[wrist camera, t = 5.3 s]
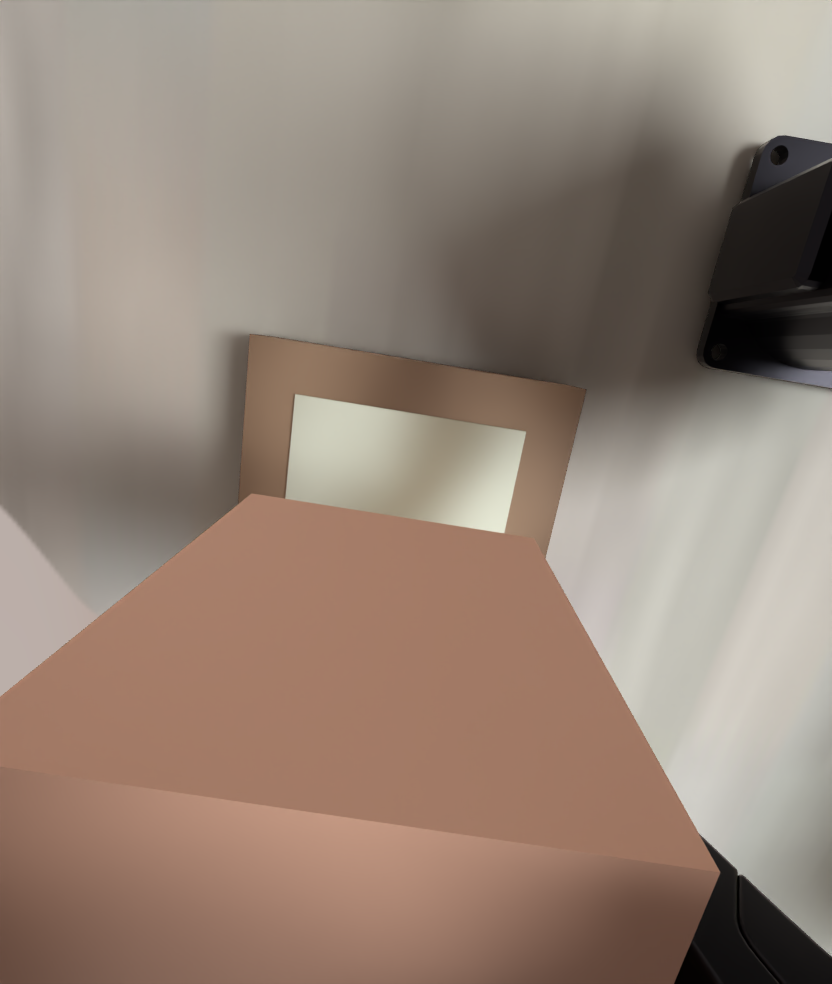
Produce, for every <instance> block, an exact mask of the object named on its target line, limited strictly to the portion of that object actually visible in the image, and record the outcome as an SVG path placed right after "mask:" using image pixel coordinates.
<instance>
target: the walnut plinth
mask: <svg viewBox="0 0 832 984" xmlns="http://www.w3.org/2000/svg"><path fill="white" fill-rule="evenodd" d="M585 393H586V389H582V388H578V387H574V386H570V385H565V384H558V383H552V382H546V381H540V380H534V379H528V378H522V377H516V376H510V375H504V374H498V373H492V372H486V371H479V370H473V369H467V368H461V367H455V366H449V365H443V364H437V363H431V362H425V361H419V360H413V359H407V358H400V357H394V356H388V355H382V354H376V353H370V352H364V351H358V350H352V349H346V348H340V347H334V346H327V345H321V344H315V343H309V342H303V341H297V340H291V339H285V338H279V337H273V336H264V335H254V334H250V338H249V352H248V367H247V381H246V396H245V410H244V425H243V439H242V453H241V468H240V482H239V497H238V504H239V503H240V502H242V501H243V500H244V499H245V498H247V497H248V496H249V495H250V494H251V493H252V494H259V495H265V496H271V497H278V498H284V499H290V500H297V501H303V502H309V503H316V504H322V505H328V506H334V507H341V508H347V509H353V510H360V511H366V512H372V513H379V514H385V515H391V516H398V517H404V518H410V519H417V520H423V521H429V522H435V523H442V524H448V525H454V526H461V527H467V528H473V529H480V530H486V531H492V532H499V533H505V534H511V535H517V536H524V537H530V538H534V539H535V541H536V543H537V545H538V546H539V548H540V550H541V552H542V554H543V555H544V557H546V553H547V549H548V545H549V541H550V537H551V533H552V529H553V525H554V521H555V516H556V512H557V508H558V504H559V500H560V496H561V492H562V488H563V484H564V479H565V475H566V471H567V467H568V463H569V459H570V455H571V451H572V447H573V443H574V438H575V434H576V430H577V426H578V422H579V418H580V414H581V410H582V406H583V402H584V397H585Z"/></svg>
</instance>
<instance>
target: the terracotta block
mask: <svg viewBox="0 0 832 984" xmlns="http://www.w3.org/2000/svg"><path fill="white" fill-rule="evenodd" d="M719 875H720V871H719V869H718V867H717V865H716V864H715V862H714V860H713V858H712V857H711V855H710V853H709V851H708V849H707V848H706V846H705V844H704V842H703V840H702V839H701V837H700V835H699V833H698V831H697V830H696V828H695V826H694V824H693V822H692V821H691V819H690V817H689V815H688V813H687V812H686V810H685V808H684V806H683V805H682V803H681V801H680V799H679V797H678V796H677V794H676V792H675V790H674V788H673V787H672V785H671V783H670V781H669V779H668V778H667V776H666V774H665V772H664V770H663V769H662V767H661V765H660V763H659V762H658V760H657V758H656V756H655V754H654V753H653V751H652V749H651V747H650V745H649V744H648V742H647V740H646V738H645V736H644V735H643V733H642V731H641V729H640V727H639V726H638V724H637V722H636V720H635V719H634V717H633V715H632V713H631V711H630V710H629V708H628V706H627V704H626V702H625V701H624V699H623V697H622V695H621V693H620V692H619V690H618V688H617V686H616V684H615V683H614V681H613V679H612V677H611V675H610V674H609V672H608V670H607V668H606V667H605V665H604V663H603V661H602V659H601V658H600V656H599V654H598V652H597V650H596V649H595V647H594V645H593V643H592V641H591V640H590V638H589V636H588V634H587V632H586V631H585V629H584V627H583V625H582V624H581V622H580V620H579V618H578V616H577V615H576V613H575V611H574V609H573V607H572V606H571V604H570V602H569V600H568V598H567V597H566V595H565V593H564V591H563V589H562V588H561V586H560V584H559V582H558V580H557V579H556V577H555V575H554V573H553V572H552V570H551V568H550V566H549V564H548V563H547V561H546V559H545V557H544V555H543V554H542V552H541V550H540V548H539V546H538V545H537V543H536V541H535V539H534V538H530V537H524V536H517V535H511V534H505V533H499V532H492V531H486V530H480V529H473V528H467V527H461V526H454V525H448V524H442V523H435V522H429V521H423V520H417V519H410V518H404V517H398V516H391V515H385V514H379V513H372V512H366V511H360V510H353V509H347V508H341V507H334V506H328V505H322V504H316V503H309V502H303V501H297V500H290V499H284V498H278V497H271V496H265V495H259V494H252V493H251V494H250V495H249V496H248V497H247V498H245V499H244V500H243V501H242V502H240V503H239V504H238V505H237V506H235V507H234V508H233V509H232V510H230V511H229V512H228V513H227V514H226V515H224V516H223V517H222V518H221V519H219V520H218V521H217V522H216V523H214V524H213V525H212V526H211V527H209V528H208V529H207V530H206V531H205V532H203V533H202V534H201V535H200V536H198V537H197V538H196V539H195V540H193V541H192V542H191V543H190V544H188V545H187V546H186V547H185V548H183V549H182V550H181V551H180V552H179V553H177V554H176V555H175V556H174V557H172V558H171V559H170V560H169V561H167V562H166V563H165V564H164V565H162V566H161V567H160V568H159V569H158V570H156V571H155V572H154V573H153V574H151V575H150V576H149V577H148V578H146V579H145V580H144V581H143V582H141V583H140V584H139V585H138V586H137V587H135V588H134V589H133V590H132V591H130V592H129V593H128V594H127V595H125V596H124V597H123V598H122V599H120V600H119V601H118V602H117V603H116V604H114V605H113V606H112V607H111V608H109V609H108V610H107V611H106V612H104V613H103V614H102V615H101V616H99V617H98V618H97V619H96V620H94V621H93V622H92V623H91V624H90V625H88V626H87V627H86V628H85V629H83V630H82V631H81V632H80V633H78V634H77V635H76V636H75V637H73V638H72V639H71V640H70V641H69V642H68V643H66V644H65V645H64V646H62V647H61V648H60V649H59V650H57V651H56V652H55V653H54V654H53V655H51V656H50V657H49V658H48V659H46V660H45V661H44V662H43V663H41V664H40V665H39V666H38V667H36V668H35V669H34V670H33V671H32V672H30V673H29V674H28V675H26V676H25V677H24V678H23V679H22V680H20V681H19V682H18V683H17V684H15V685H14V686H13V687H12V688H10V689H9V690H8V691H7V692H5V693H4V694H3V695H2V696H1V697H0V984H674V982H675V980H676V977H677V975H678V973H679V970H680V968H681V965H682V963H683V961H684V958H685V956H686V953H687V951H688V949H689V946H690V944H691V942H692V939H693V937H694V934H695V932H696V930H697V927H698V925H699V922H700V920H701V918H702V915H703V913H704V910H705V908H706V906H707V903H708V901H709V899H710V896H711V894H712V891H713V889H714V887H715V884H716V882H717V879H718V877H719Z"/></svg>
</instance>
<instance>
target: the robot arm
mask: <svg viewBox="0 0 832 984" xmlns="http://www.w3.org/2000/svg"><path fill="white" fill-rule="evenodd" d="M772 150H774V151H776V152H777V153H778V155H779V163H778V165H777V166H776V165H774V164H773V163H772V162H771V160H770V156H771V152H772ZM708 293H709V296H710V299H711V305H710V308H709V311H708V315H707V318H706V322H705V325H704V328H703V332H702V335H701V339H700V342H699V345H698V349H697V359H698V362H699V363H700V364H701V365H702V366H704V367H707V368H711V369H717V370H723V371H729V372H735V373H741V374H747V375H753V376H759V377H765V378H771V379H777V380H783V381H789V382H795V383H801V384H807V385H813V386H819V387H826V388H832V144H831V143H825V142H819V141H814V140H808V139H803V138H797V137H791V136H777V137H775V138H773V139H771V140H770V141H768V142H766V143H765V144H763V145H762V146H761V147H760V148H759V149H758V150H757V152H756V154H755V156H754V159H753V162H752V166H751V169H750V172H749V176H748V179H747V183H746V186H745V189H744V193H743V196H742V200H741V202H740V203H739V204H738V205H736V206H735V207H734V208H733V210H732V213H731V216H730V219H729V223H728V226H727V230H726V233H725V237H724V240H723V243H722V247H721V250H720V254H719V257H718V261H717V264H716V267H715V271H714V274H713V278H712V281H711V285H710V288H709V292H708ZM715 345H718V346H719V347H720V355H719V356H718V358H716V359H715V360H714V359H713V358H712V356H711V350H712V349H713V347H714V346H715ZM699 835H700V834H699ZM700 837H701V839H702V840H703V842H704V844H705V846H706V848H707V849H708V851H709V853H710V855H711V857H712V858H713V860H714V862H715V864H716V865H717V867H718V869H719V871H720V875H719V877H718V879H717V882H716V884H715V887H714V889H713V891H712V894H711V896H710V899H709V901H708V903H707V906H706V908H705V910H704V913H703V915H702V918H701V920H700V922H699V925H698V927H697V930H696V932H695V934H694V937H693V939H692V942H691V944H690V946H689V949H688V951H687V953H686V956H685V958H684V961H683V963H682V965H681V968H680V970H679V973H678V975H677V977H676V980H675V982H674V984H832V957H831V956H830V955H829V954H828V953H827V952H826V951H824V950H823V949H822V948H821V947H820V946H819V945H818V944H817V943H816V942H814V941H813V940H812V939H811V938H810V937H809V936H808V935H807V934H806V933H805V932H804V931H802V930H801V929H800V928H799V927H798V926H797V925H796V924H795V923H794V922H793V921H792V920H791V919H789V918H788V917H787V916H786V915H785V914H784V913H783V912H782V911H781V910H780V909H779V908H777V907H776V906H775V905H774V904H773V903H772V902H771V901H770V900H769V899H768V898H767V897H766V896H765V895H764V894H763V893H761V892H760V891H759V890H758V889H757V888H756V887H755V886H754V885H753V884H752V883H751V882H750V881H749V880H748V879H747V878H746V877H745V876H743V875H738V872H737V869H736V868H735V867H734V866H733V865H732V864H731V863H730V862H729V861H727V860H726V859H725V858H724V857H723V856H722V855H721V854H720V853H719V852H718V851H717V850H716V849H715V848H714V847H713V846H712V845H711V844H709V843H708V842H707V841H706V840H705V839H704V838H703V837H702V836H701V835H700Z"/></svg>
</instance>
